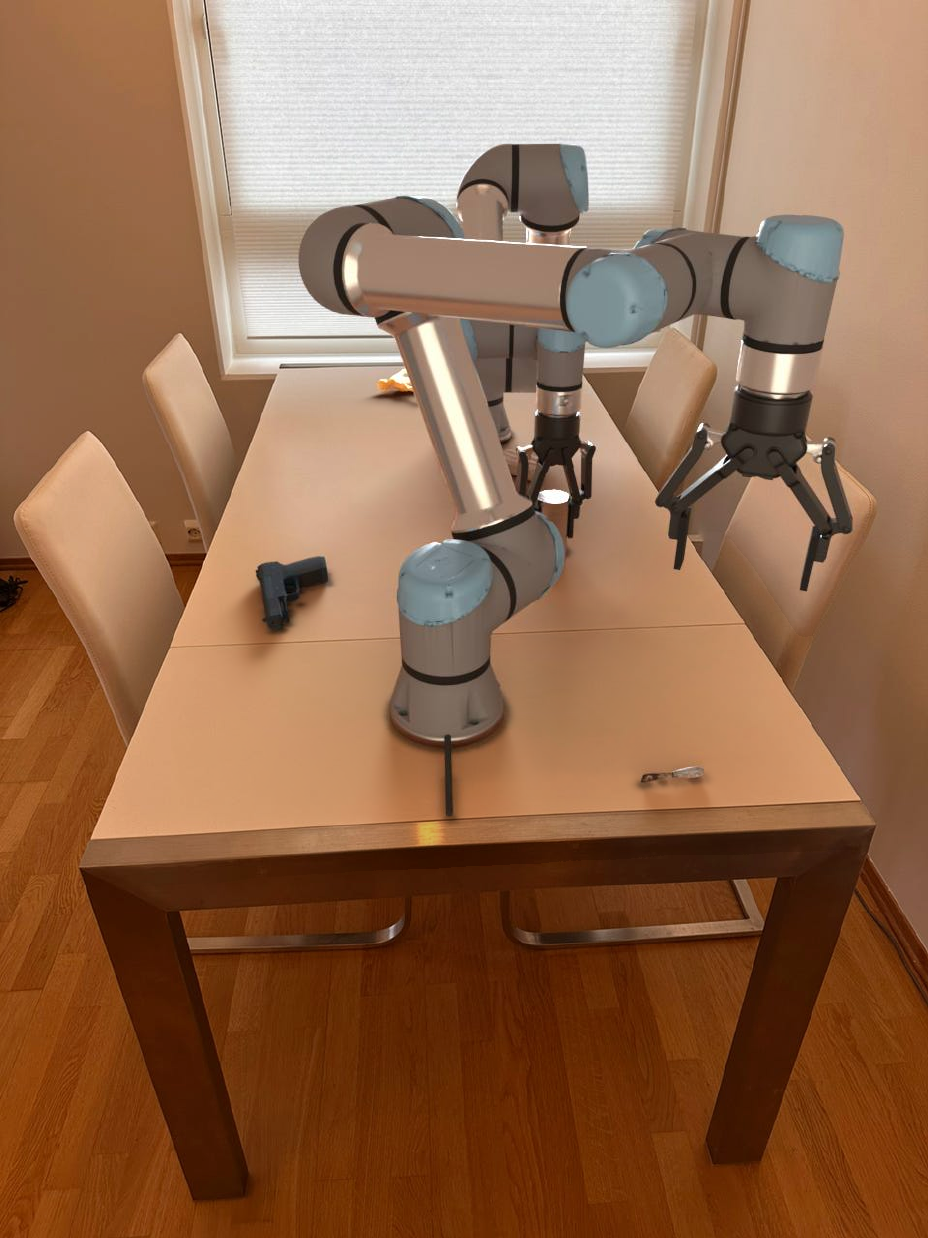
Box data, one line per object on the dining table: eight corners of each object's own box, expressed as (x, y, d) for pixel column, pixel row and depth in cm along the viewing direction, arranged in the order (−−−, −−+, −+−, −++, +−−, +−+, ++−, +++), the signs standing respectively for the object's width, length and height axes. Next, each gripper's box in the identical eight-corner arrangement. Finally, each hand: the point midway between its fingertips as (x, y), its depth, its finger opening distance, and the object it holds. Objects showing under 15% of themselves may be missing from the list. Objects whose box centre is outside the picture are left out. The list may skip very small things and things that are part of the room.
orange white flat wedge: (371, 392, 238) (370, 377, 236) (413, 371, 252) (412, 357, 250) (432, 405, 230) (432, 390, 227) (472, 383, 244) (472, 369, 241)
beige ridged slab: (554, 462, 195) (554, 451, 194) (536, 482, 186) (537, 471, 185) (499, 454, 200) (499, 444, 198) (479, 474, 190) (479, 463, 189)
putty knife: (703, 777, 109) (705, 767, 109) (642, 788, 108) (644, 777, 107) (700, 772, 110) (702, 762, 109) (639, 782, 109) (640, 771, 108)
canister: (544, 540, 164) (547, 487, 159) (572, 548, 161) (575, 494, 156) (528, 552, 160) (530, 498, 155) (556, 561, 157) (559, 506, 152)
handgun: (340, 621, 141) (263, 633, 138) (325, 568, 155) (255, 578, 152) (339, 604, 139) (261, 615, 136) (323, 552, 153) (252, 561, 151)
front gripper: (909, 389, 88) (859, 578, 99) (655, 364, 95) (636, 542, 106) (912, 413, 82) (859, 611, 93) (641, 384, 89) (622, 570, 100)
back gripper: (508, 422, 142) (505, 551, 155) (619, 414, 146) (608, 541, 158) (497, 407, 149) (495, 532, 161) (604, 399, 152) (594, 522, 164)
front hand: (739, 574), depth 100 cm, fingers open, 13 cm apart
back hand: (551, 536), depth 159 cm, fingers closed on canister, 6 cm apart
